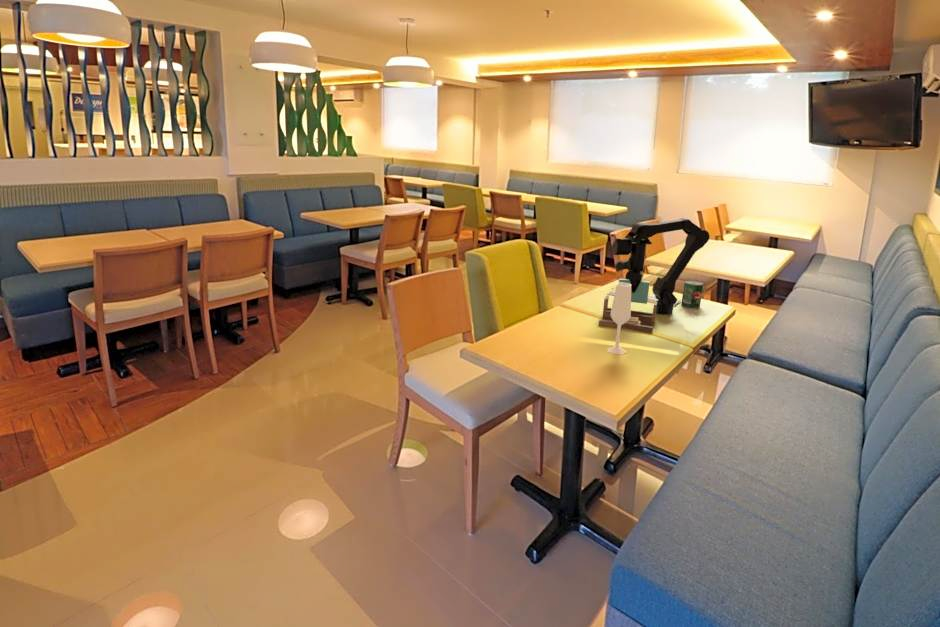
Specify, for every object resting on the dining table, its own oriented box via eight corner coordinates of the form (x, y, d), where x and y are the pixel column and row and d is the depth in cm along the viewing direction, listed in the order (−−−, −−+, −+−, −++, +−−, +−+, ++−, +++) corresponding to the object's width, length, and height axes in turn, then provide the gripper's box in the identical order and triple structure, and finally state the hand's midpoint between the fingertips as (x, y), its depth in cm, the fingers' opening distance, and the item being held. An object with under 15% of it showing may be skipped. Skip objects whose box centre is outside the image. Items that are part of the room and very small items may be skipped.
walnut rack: (604, 315, 226) (607, 294, 223) (654, 321, 219) (657, 300, 217) (598, 328, 210) (600, 305, 207) (651, 335, 203) (654, 312, 201)
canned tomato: (681, 302, 247) (685, 279, 244) (700, 305, 244) (704, 281, 240) (680, 307, 240) (683, 283, 237) (699, 309, 237) (703, 285, 234)
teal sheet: (617, 299, 228) (619, 278, 225) (647, 302, 223) (649, 281, 221) (616, 300, 226) (619, 279, 223) (646, 303, 222) (649, 282, 219)
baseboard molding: (672, 309, 239) (680, 303, 249) (673, 302, 239) (681, 297, 248) (606, 296, 257) (616, 291, 266) (607, 290, 256) (616, 285, 265)
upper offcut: (616, 318, 213) (616, 315, 213) (637, 320, 211) (638, 317, 211) (616, 322, 208) (616, 319, 208) (638, 324, 207) (638, 321, 206)
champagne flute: (630, 352, 187) (638, 285, 179) (616, 355, 183) (624, 287, 176) (615, 346, 192) (623, 280, 185) (602, 349, 189) (609, 283, 181)
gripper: (620, 249, 230) (616, 284, 234) (614, 257, 213) (610, 295, 218) (647, 251, 226) (643, 287, 230) (643, 260, 209) (639, 298, 214)
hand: (633, 291), depth 223 cm, fingers closed on teal sheet, 2 cm apart
